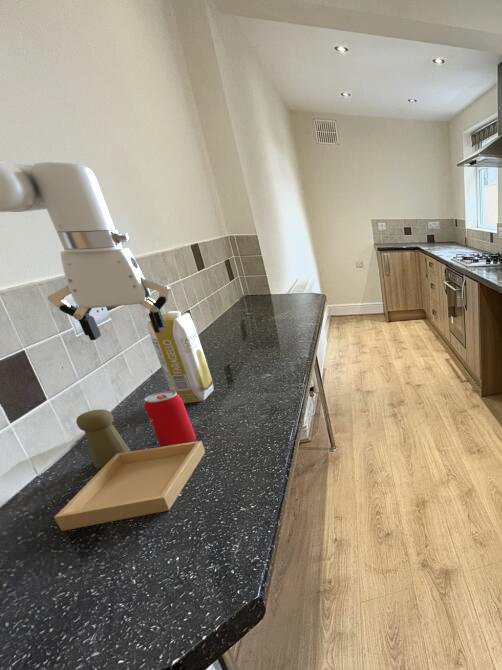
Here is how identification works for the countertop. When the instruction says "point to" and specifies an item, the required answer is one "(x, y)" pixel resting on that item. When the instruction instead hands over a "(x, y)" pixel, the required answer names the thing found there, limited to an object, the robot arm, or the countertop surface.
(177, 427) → the beverage can
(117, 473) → the tray
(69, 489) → the countertop surface
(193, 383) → the juice carton
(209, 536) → the countertop surface
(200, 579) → the countertop surface
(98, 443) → the pepper shaker
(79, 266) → the robot arm
